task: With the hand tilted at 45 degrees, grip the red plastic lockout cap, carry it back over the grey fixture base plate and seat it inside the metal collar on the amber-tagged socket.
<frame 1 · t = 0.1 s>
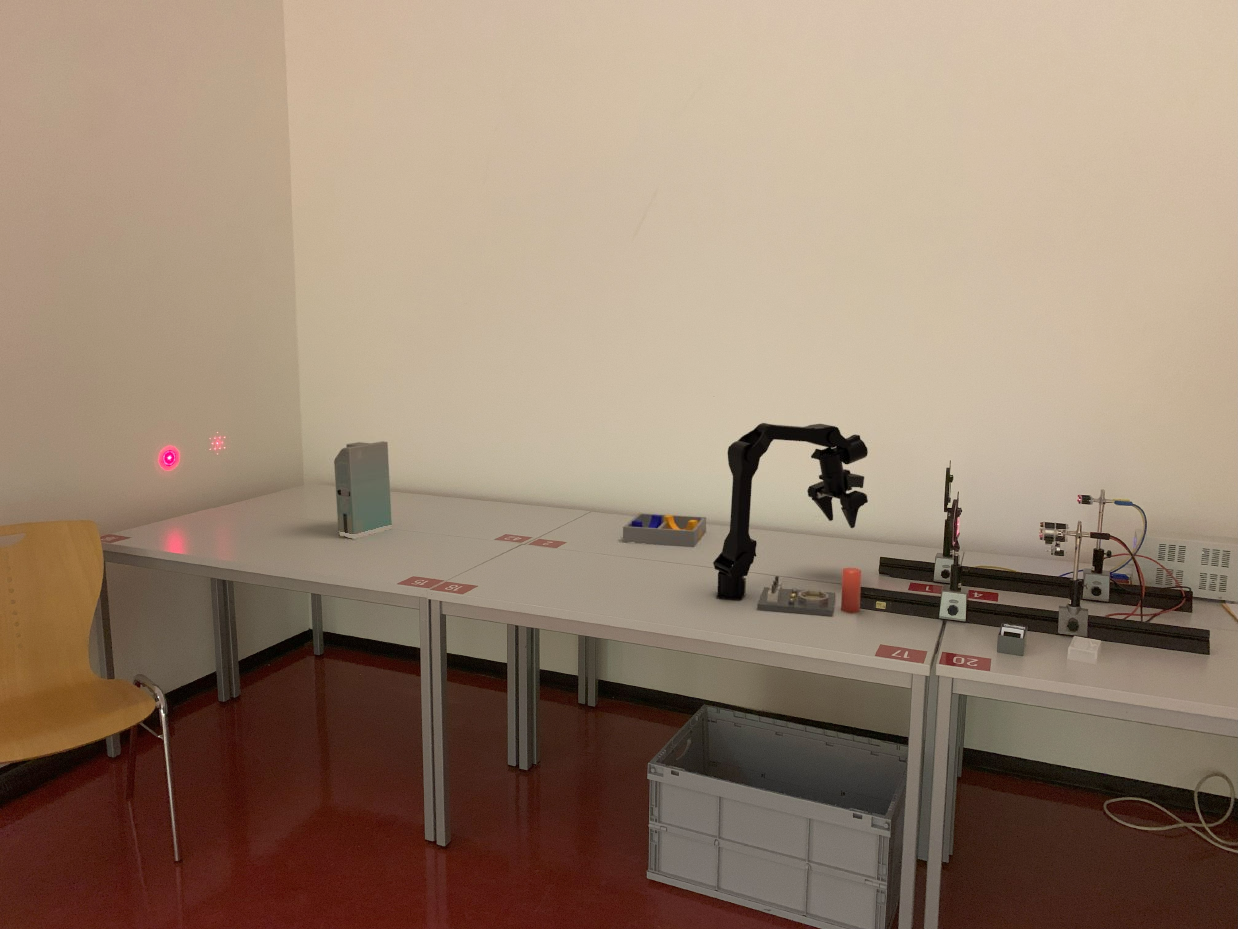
hand: (841, 524, 241), 15 cm above the table, tool pointing down, fingers open, 9 cm apart
lockout cap: (850, 609, 219), on the table
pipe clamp: (681, 538, 289), resting in parts tray
parts tray: (665, 536, 290), on the table
device: (365, 533, 298), on the table
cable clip: (648, 537, 292), resting in parts tray
grey fixture base plate: (796, 604, 223), on the table
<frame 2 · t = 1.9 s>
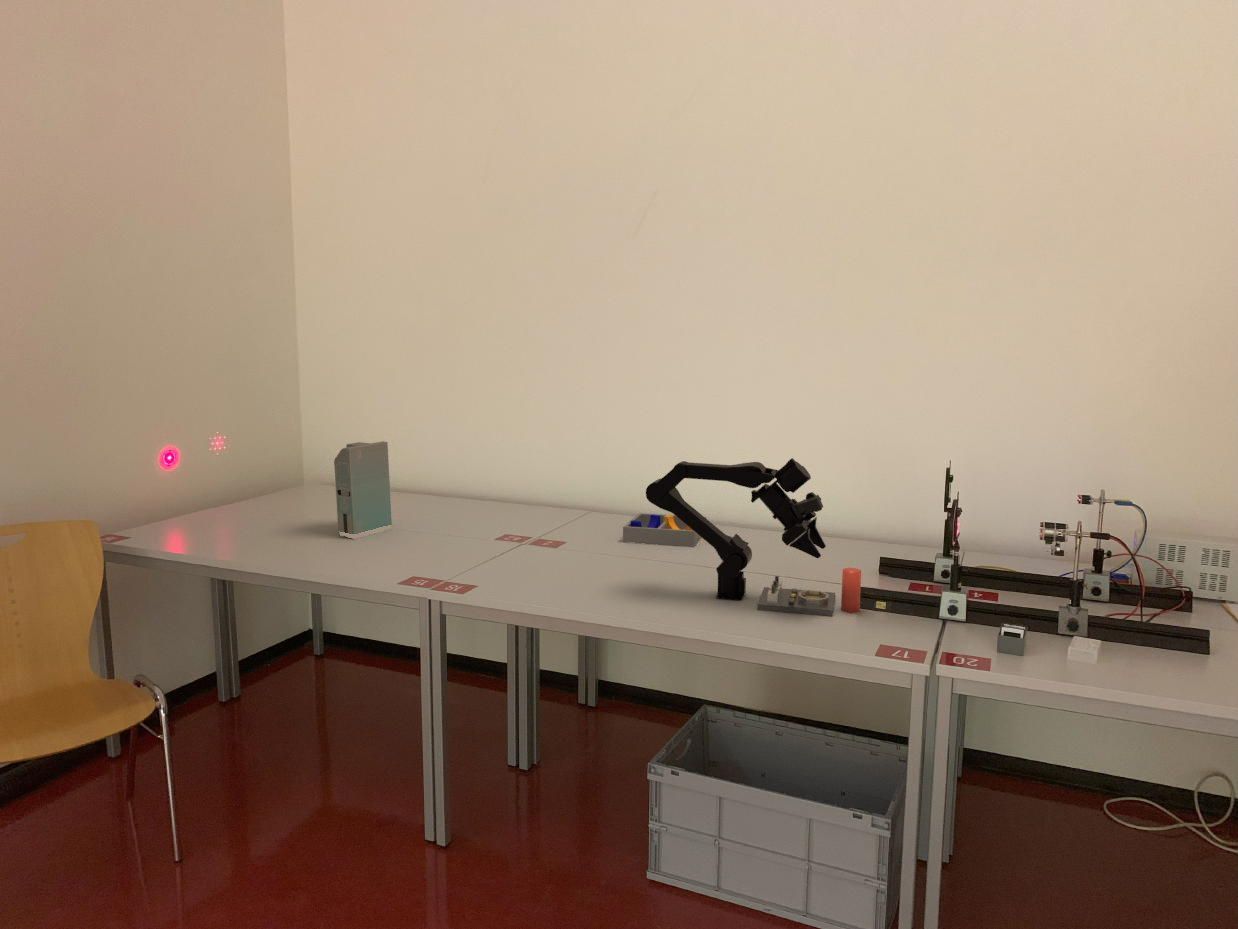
hand: (822, 552, 220), 14 cm above the table, tool tilted 45°, fingers open, 9 cm apart
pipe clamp: (681, 538, 289), resting in parts tray
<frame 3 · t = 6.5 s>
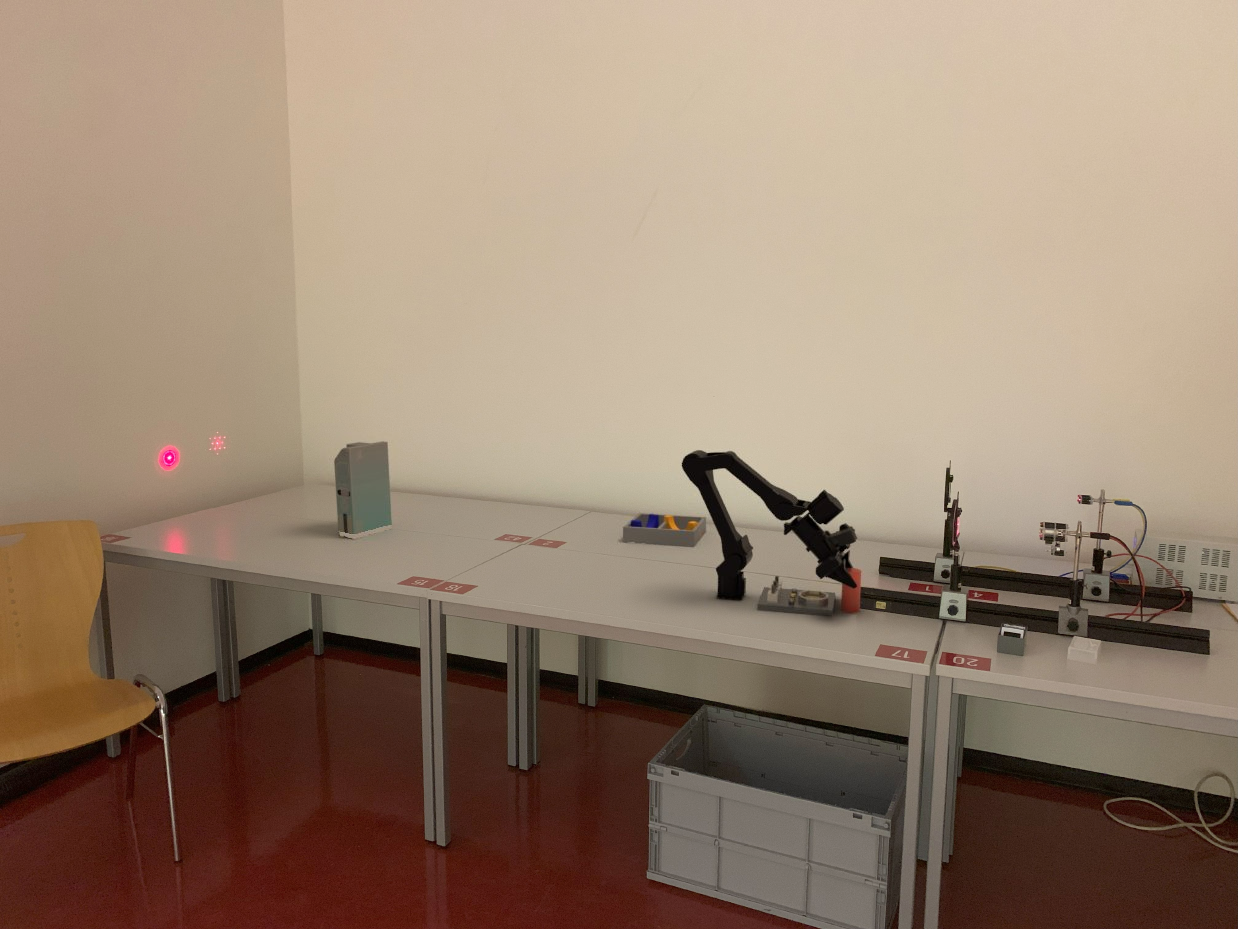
hand: (857, 584, 217), 7 cm above the table, tool tilted 45°, fingers closed on lockout cap, 4 cm apart
lockout cap: (850, 609, 219), on the table, touching gripper
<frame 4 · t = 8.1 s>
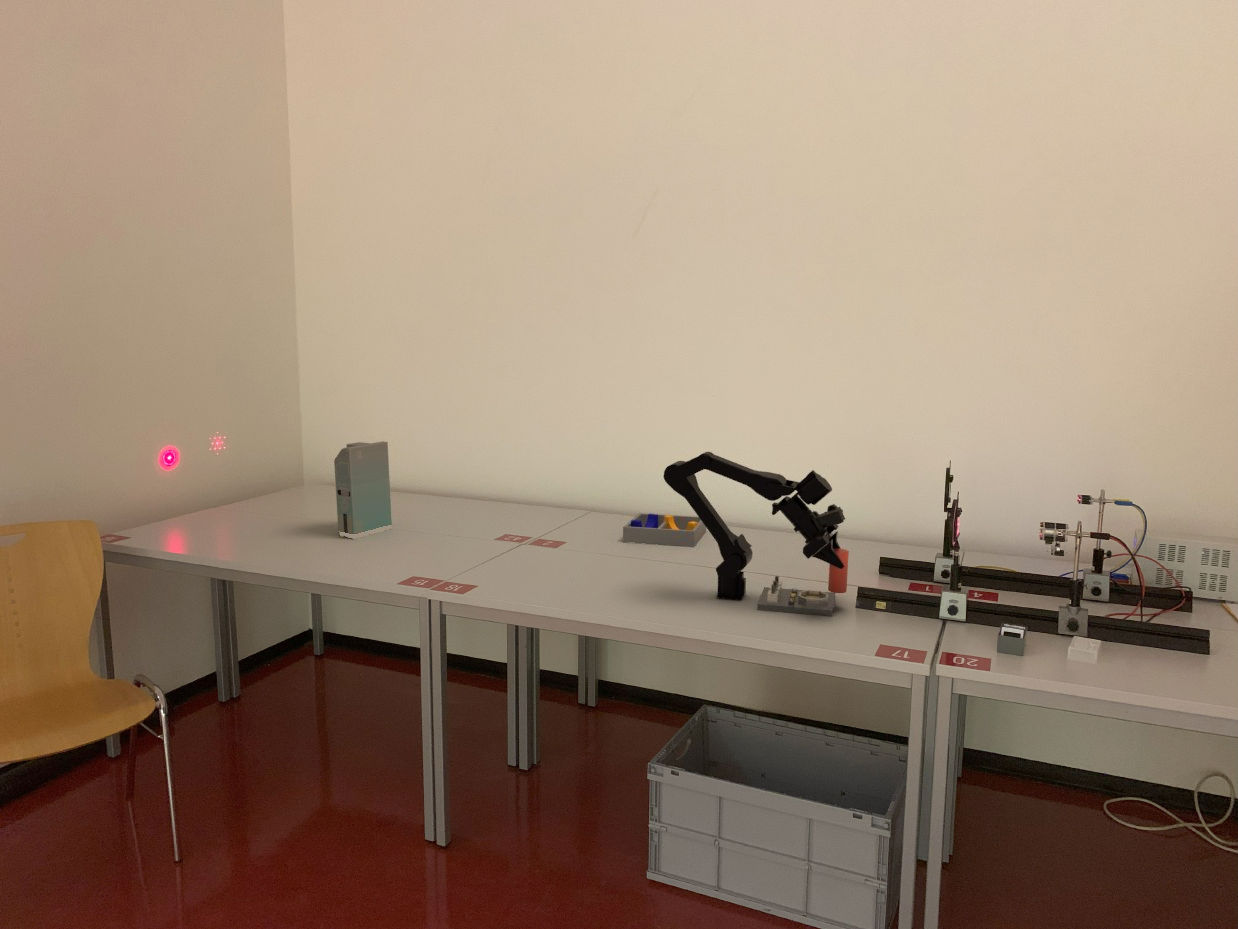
hand: (844, 565, 218), 11 cm above the table, tool tilted 45°, fingers closed on lockout cap, 4 cm apart
lockout cap: (837, 590, 219), point 5 cm above the table, touching gripper
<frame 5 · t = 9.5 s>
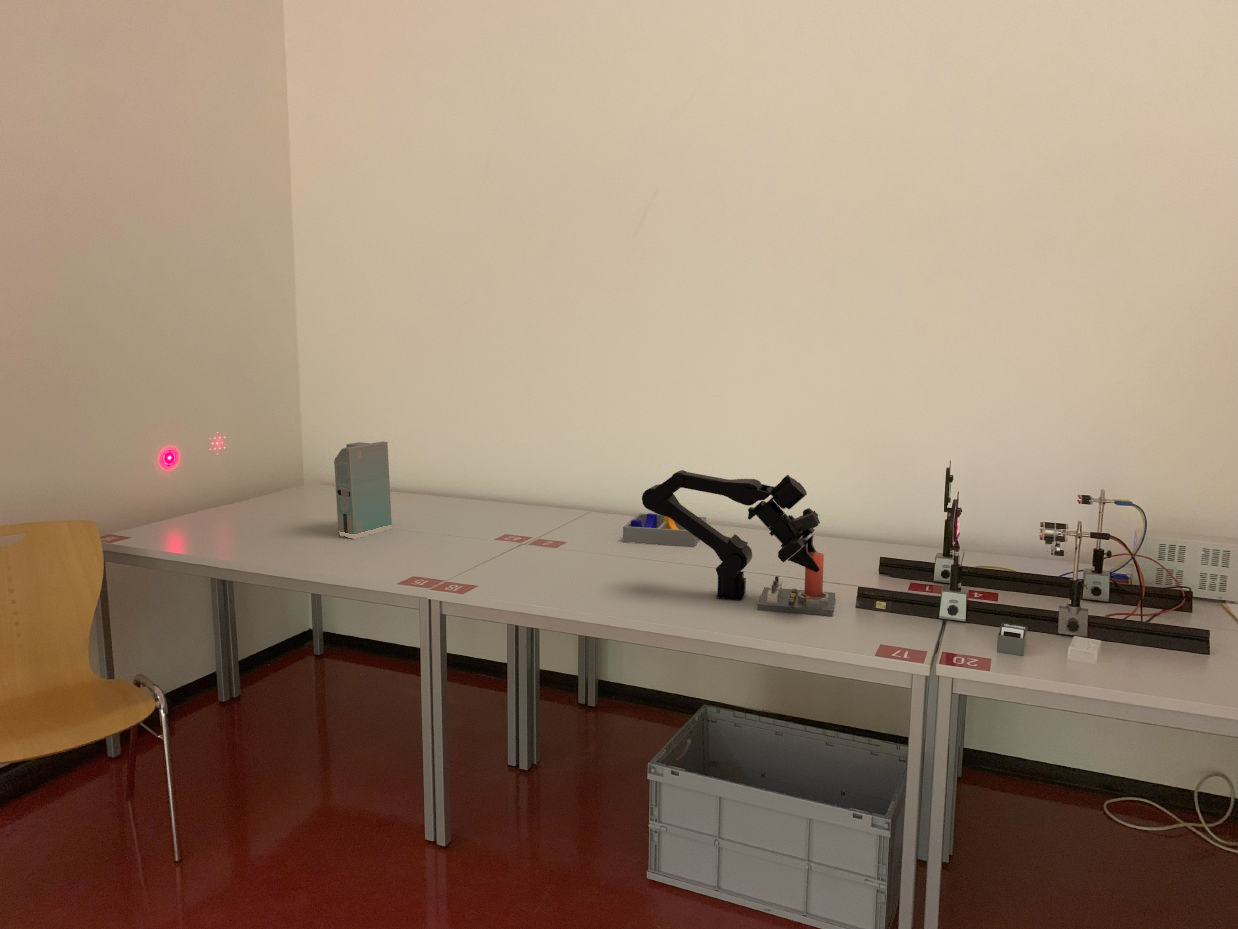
hand: (819, 568, 220), 10 cm above the table, tool tilted 45°, fingers closed on lockout cap, 4 cm apart
lockout cap: (813, 593, 222), point 3 cm above the table, touching gripper
when the fingers open (10 cm above the table, at t = 9.9 s): lockout cap drops 1 cm, resting on grey fixture base plate.
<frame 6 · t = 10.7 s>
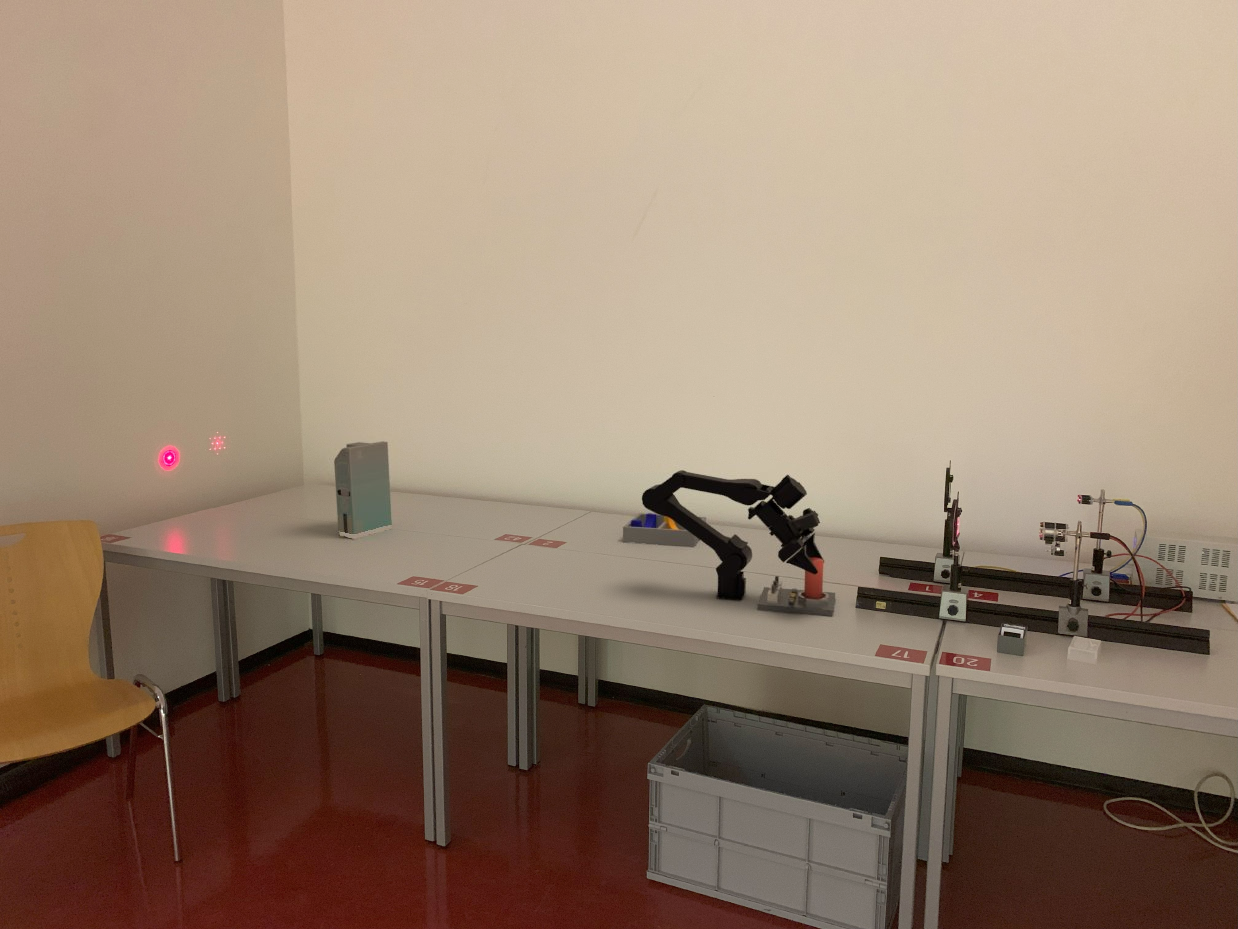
hand: (820, 568, 220), 10 cm above the table, tool tilted 45°, fingers open, 9 cm apart
lockout cap: (813, 599, 222), point 2 cm above the table, touching grey fixture base plate
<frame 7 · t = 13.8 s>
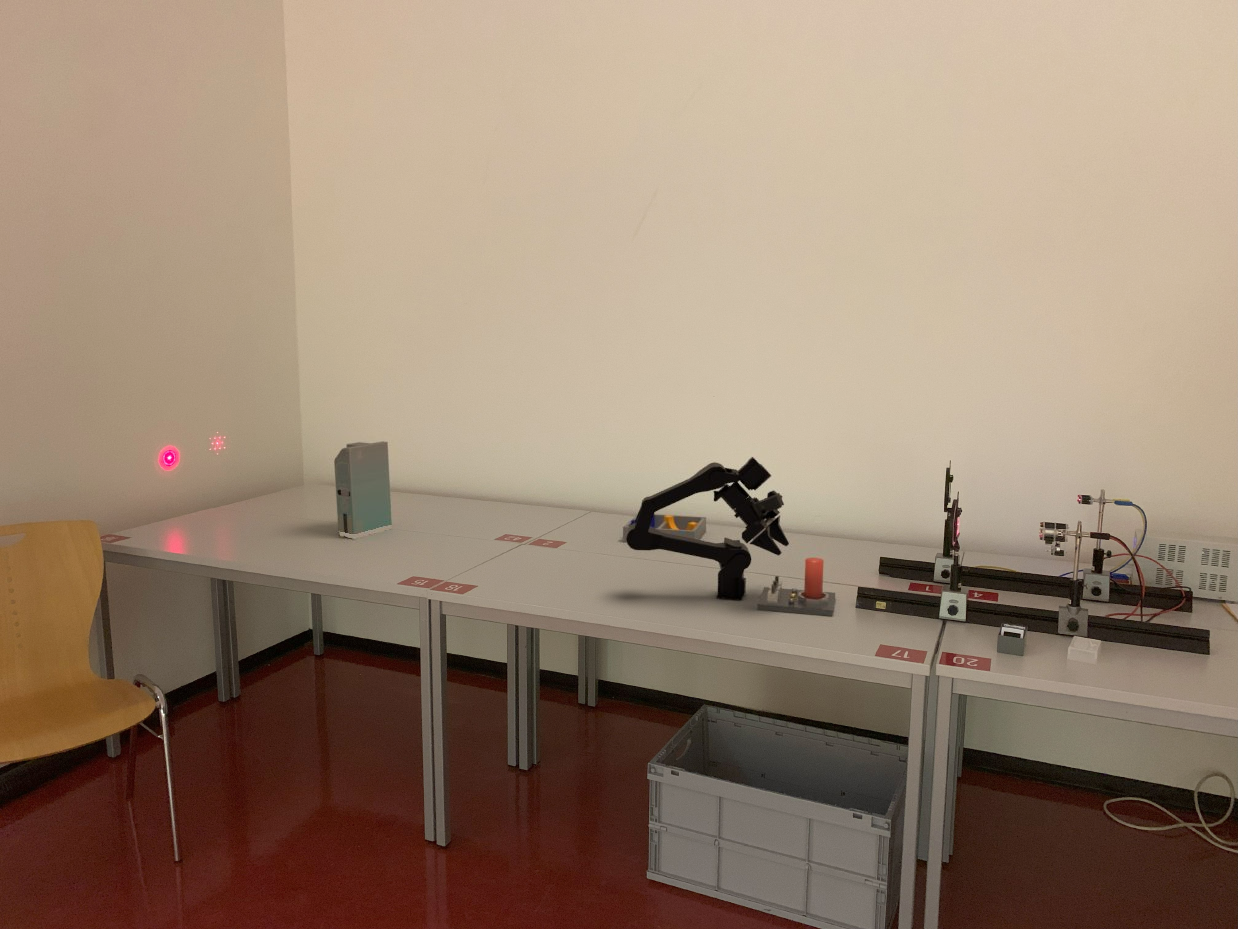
hand: (784, 549, 223), 14 cm above the table, tool tilted 45°, fingers open, 9 cm apart
at the end: lockout cap 0.2 cm from the target spot on the grey fixture base plate, point 1.7 cm above the grey fixture base plate's base; lockout cap tilted 0°; the gripper is holding nothing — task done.
